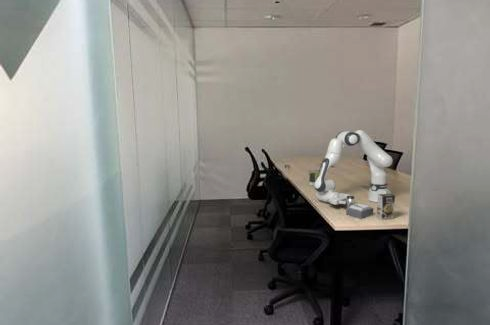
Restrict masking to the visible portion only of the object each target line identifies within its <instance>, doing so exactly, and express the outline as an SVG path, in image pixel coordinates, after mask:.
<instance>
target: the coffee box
mask: <svg viewBox="0 0 490 325" xmlns="http://www.w3.org/2000/svg"><path fill="white" fill-rule="evenodd" d="M395 198H396V195H395V194H392V193H391V194H378V202H376V203H377V204H376V207H377V208H376V218H378V220H381V221H384V220H394V218H395V200H396V199H395Z"/></svg>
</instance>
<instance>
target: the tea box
mask: <svg viewBox="0 0 490 325" xmlns="http://www.w3.org/2000/svg"><path fill="white" fill-rule="evenodd" d="M318 173H319V169H309V170H308V179H309V180H308V181H309V182H308V183H309V184H308V185H310V186H314V182H315V180H316V178H317V176H318Z"/></svg>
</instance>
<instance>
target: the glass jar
mask: <svg viewBox="0 0 490 325" xmlns="http://www.w3.org/2000/svg"><path fill="white" fill-rule="evenodd" d="M351 205H355V196H354V195H351V196H347V203H346V208H348V207H350V206H351Z"/></svg>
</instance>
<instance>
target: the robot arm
mask: <svg viewBox="0 0 490 325" xmlns="http://www.w3.org/2000/svg"><path fill="white" fill-rule="evenodd" d="M329 141H330V142H329V144H328V147H327V151H326V154H325V157H324V158H323V160H322V161H321V163H320V167H319V169H318V170H319V173H318V176H317V178H316V180H315V182H314V185H313V187H314V190H315V191H316V194H315V196H316V198H317V199H318V200H320V201H322V202H324V203H325V202H326V203H330V204H332V205H334V206H335V205H336V206H337V205H340V204H343V205H347V196H352V194H347V193H344V192H337V191H335V188H336V183H335V181H334V179H331V178H326V177H327V174H328V170H329V169H330V167H332V166H334V165H336V164H338V163H339V162H340V161H341V159H342V158H341V157H342V153H343V149H344V147H345V146H349V147H354V146H355V145H357V147H358V148H359V149H360V151H362V152H363V154H364V155H366V159H367V160H366V161H367V162H368V165H369V169H370V184H369V187H370V188H369V189H368V195H367V196H366V199H367V200H368V201H370V202H374V203H377V202H378V194H392V192H391V190H389V188H388V186H389V182H388V183H387V182H386V181H387V173H386V172H385V168H388V167H390V166H392V164H393V157H392V156H391V155H389V154H388V153H387V152H386V151H385V150H383V149H382V148H381V147H380V146H379V145H377V143H376V142H375V141H373V139H372V137H371V136H369V134H367V133H366V131H364V130H362V129H358V130H356V131H348V130H346V131H345V130H343V131H340V132H338V133H337V135H336V137H335V138H332V139H330V140H329Z"/></svg>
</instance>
